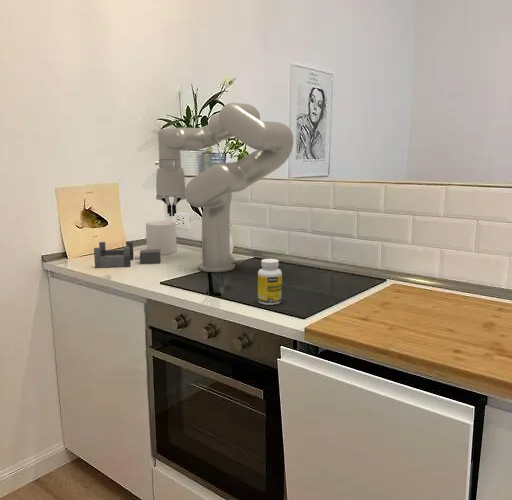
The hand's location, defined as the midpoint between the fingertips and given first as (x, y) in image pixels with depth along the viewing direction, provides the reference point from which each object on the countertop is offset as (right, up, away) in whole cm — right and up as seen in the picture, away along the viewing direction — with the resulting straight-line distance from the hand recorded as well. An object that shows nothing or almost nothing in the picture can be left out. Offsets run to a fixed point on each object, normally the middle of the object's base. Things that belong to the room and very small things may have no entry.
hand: (171, 215), depth 183 cm
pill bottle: (+34, -27, -45) cm, 63 cm away
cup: (-7, -14, +20) cm, 26 cm away
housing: (-21, -17, +1) cm, 27 cm away
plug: (-8, -17, +2) cm, 19 cm away
